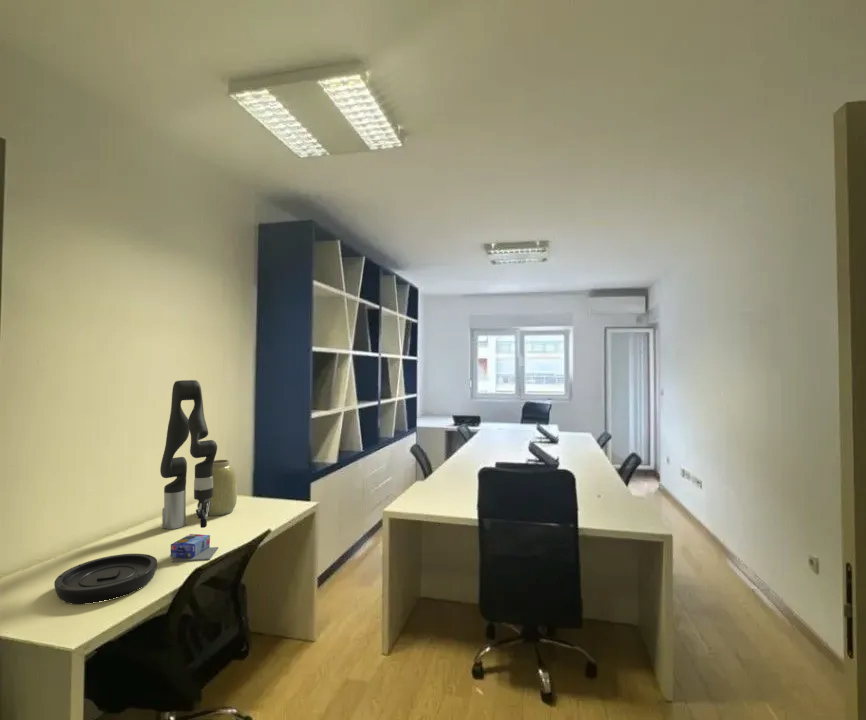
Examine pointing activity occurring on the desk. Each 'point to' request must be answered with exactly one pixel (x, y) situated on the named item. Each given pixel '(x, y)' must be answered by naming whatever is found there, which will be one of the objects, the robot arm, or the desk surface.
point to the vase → (223, 488)
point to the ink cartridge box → (190, 545)
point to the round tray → (105, 578)
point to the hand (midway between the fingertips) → (203, 527)
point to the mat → (201, 556)
